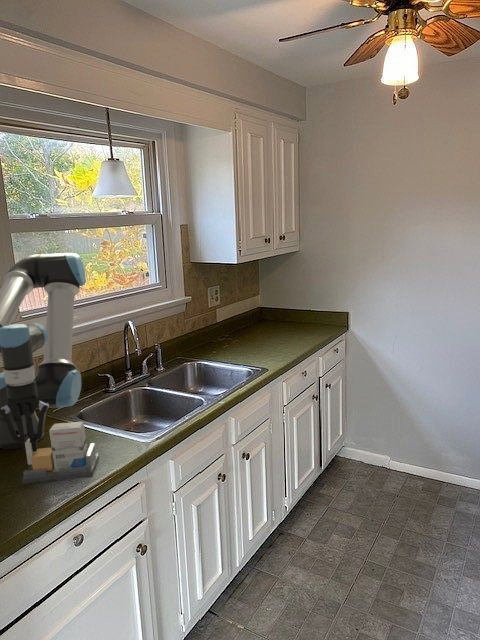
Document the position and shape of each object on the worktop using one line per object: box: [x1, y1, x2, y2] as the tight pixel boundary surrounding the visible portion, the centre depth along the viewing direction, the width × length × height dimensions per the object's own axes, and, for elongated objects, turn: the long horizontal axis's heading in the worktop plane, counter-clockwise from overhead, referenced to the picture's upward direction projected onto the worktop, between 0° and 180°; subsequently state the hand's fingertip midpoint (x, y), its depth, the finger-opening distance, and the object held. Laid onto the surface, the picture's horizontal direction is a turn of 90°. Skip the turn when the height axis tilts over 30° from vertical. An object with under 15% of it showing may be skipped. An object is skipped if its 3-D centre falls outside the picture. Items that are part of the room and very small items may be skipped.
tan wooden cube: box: [31, 447, 54, 471], centre depth 136 cm, size 5×5×4 cm
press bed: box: [21, 442, 100, 485], centre depth 137 cm, size 11×18×6 cm, turn 97°
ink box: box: [48, 421, 88, 469], centre depth 136 cm, size 9×5×12 cm, turn 95°
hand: (32, 462), depth 136 cm, fingers closed
